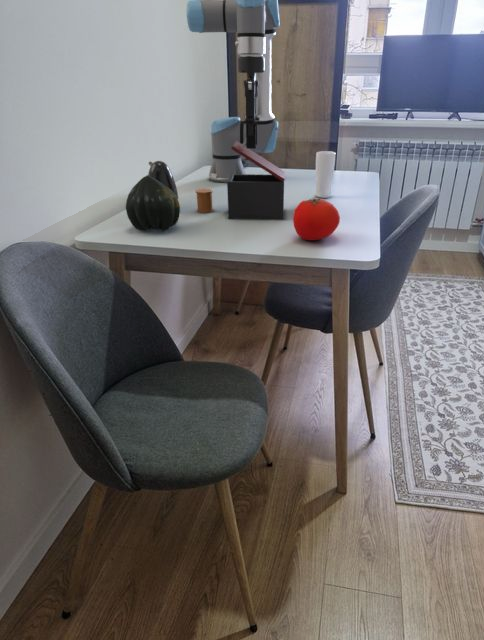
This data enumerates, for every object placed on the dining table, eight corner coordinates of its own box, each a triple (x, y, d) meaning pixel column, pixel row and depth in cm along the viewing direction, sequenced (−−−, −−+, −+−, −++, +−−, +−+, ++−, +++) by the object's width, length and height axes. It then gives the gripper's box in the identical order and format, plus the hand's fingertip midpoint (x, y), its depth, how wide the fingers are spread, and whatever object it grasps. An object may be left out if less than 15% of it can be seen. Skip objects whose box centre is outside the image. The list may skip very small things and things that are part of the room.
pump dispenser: (167, 204, 163) (162, 157, 155) (185, 209, 156) (181, 160, 148) (141, 209, 156) (135, 160, 149) (159, 215, 150) (153, 164, 142)
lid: (230, 148, 137) (244, 122, 133) (234, 143, 147) (247, 118, 143) (283, 182, 141) (297, 157, 137) (283, 174, 151) (296, 151, 148)
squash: (159, 220, 125) (171, 169, 128) (110, 218, 130) (122, 168, 132) (181, 243, 139) (191, 196, 142) (136, 240, 143) (146, 195, 146)
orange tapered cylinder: (198, 208, 158) (196, 188, 154) (214, 209, 157) (213, 188, 154) (195, 213, 153) (194, 192, 150) (212, 213, 153) (211, 192, 149)
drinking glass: (331, 199, 169) (335, 154, 162) (312, 198, 170) (315, 153, 163) (333, 194, 175) (336, 151, 167) (314, 194, 176) (317, 150, 168)
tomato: (304, 229, 138) (306, 191, 132) (344, 235, 132) (348, 196, 127) (282, 241, 128) (283, 201, 122) (325, 249, 122) (327, 207, 117)
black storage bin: (228, 218, 147) (227, 181, 141) (232, 209, 157) (230, 174, 152) (283, 219, 147) (284, 182, 141) (283, 209, 157) (284, 174, 151)
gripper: (240, 56, 139) (242, 141, 150) (234, 55, 122) (236, 151, 133) (266, 56, 138) (265, 141, 150) (263, 55, 121) (263, 151, 133)
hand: (251, 146), depth 142 cm, fingers closed on lid, 7 cm apart
